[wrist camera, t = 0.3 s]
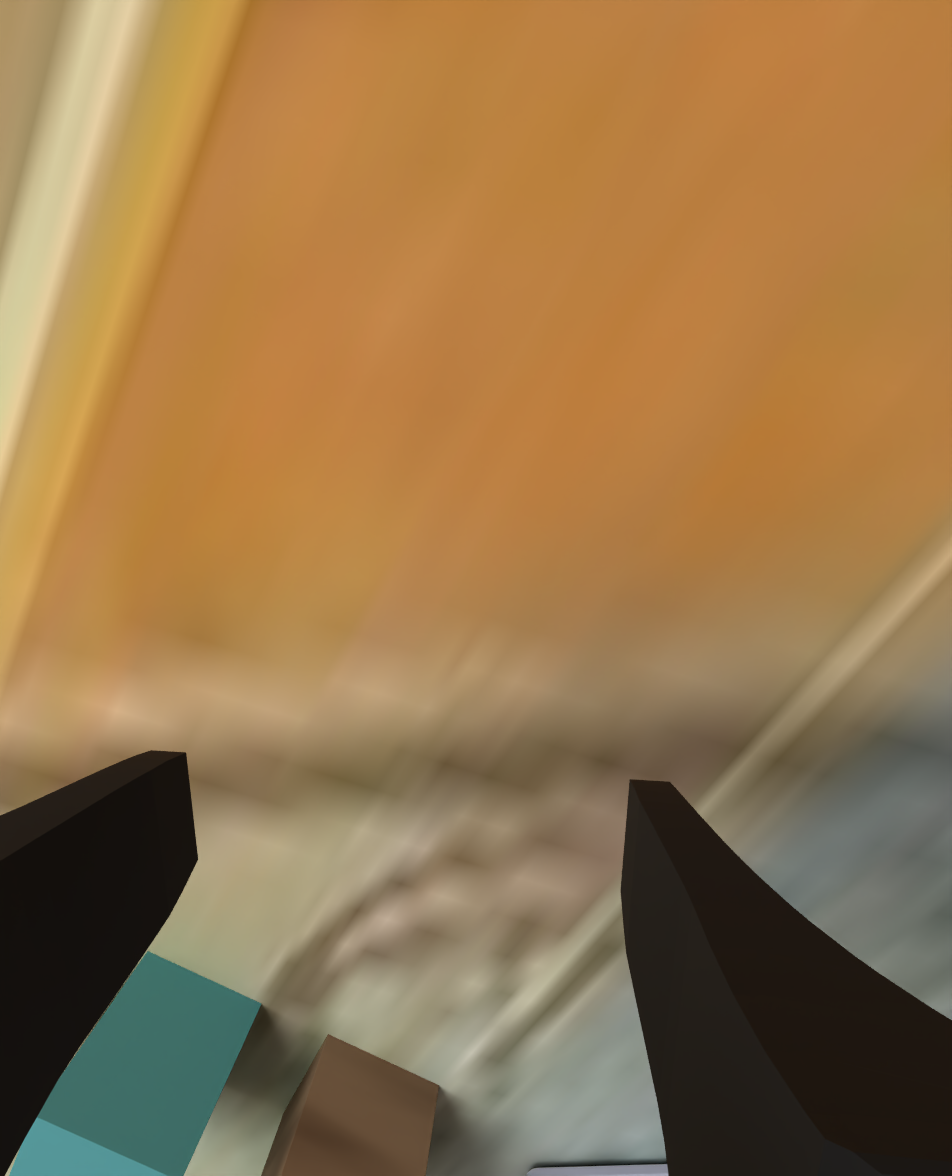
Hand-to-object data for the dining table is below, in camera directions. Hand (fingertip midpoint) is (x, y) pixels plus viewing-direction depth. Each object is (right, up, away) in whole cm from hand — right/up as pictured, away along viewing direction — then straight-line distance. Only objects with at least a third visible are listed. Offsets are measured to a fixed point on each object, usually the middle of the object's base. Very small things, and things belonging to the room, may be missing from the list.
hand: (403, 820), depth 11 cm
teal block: (-10, -12, +15) cm, 22 cm away
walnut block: (-3, -15, +15) cm, 22 cm away
